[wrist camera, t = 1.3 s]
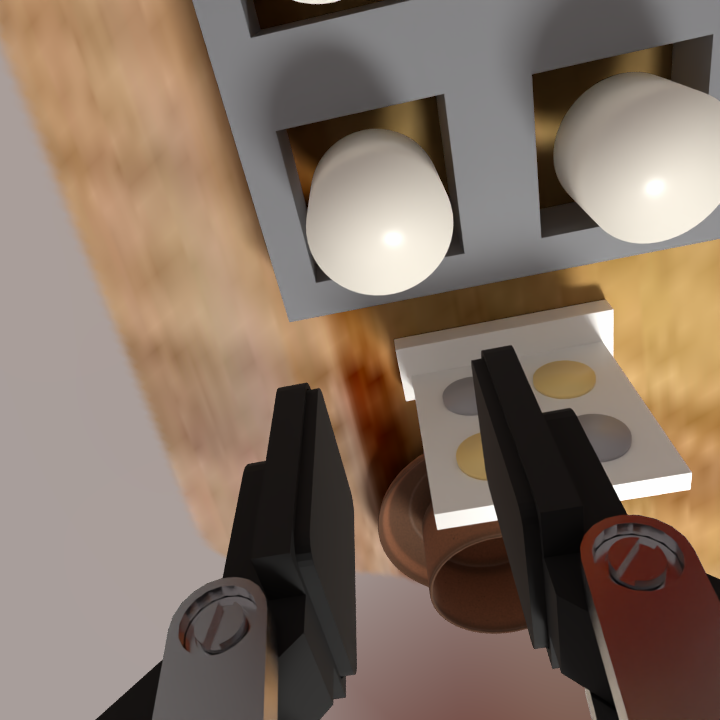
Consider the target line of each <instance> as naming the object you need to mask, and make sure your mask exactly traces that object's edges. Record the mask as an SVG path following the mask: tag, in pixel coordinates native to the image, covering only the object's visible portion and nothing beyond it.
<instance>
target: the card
mask: <svg viewBox="0 0 720 720" xmlns="http://www.w3.org/2000/svg"><path fill="white" fill-rule="evenodd" d="M613 310H614V309H613V308H612V307H611V305H610V304H609V303H608V302H607V300H606V299H605V300H600V301H594V302H589V303H584V304H579V305H573V306H568V307H563V308H557V309H552V310H547V311H541V312H536V313H531V314H526V315H520V316H515V317H510V318H504V319H499V320H494V321H488V322H483V323H478V324H473V325H467V326H462V327H457V328H451V329H446V330H441V331H435V332H430V333H425V334H420V335H414V336H409V337H404V338H398V339H394V343H395V350H396V355H397V360H398V365H399V370H400V374H401V379H402V384H403V389H404V394H405V399H406V401H411V400H416V406H417V412H418V419H419V425H420V431H421V437H422V443H423V449H424V455H425V461H426V467H427V473H428V480H429V486H430V492H431V498H432V504H433V510H434V516H435V521H436V526H437V530H441V529H447V528H453V527H459V526H466V525H472V524H478V523H484V522H490V521H497V520H498V519H497V515H496V512H495V508H494V505H493V501H492V497H491V494H490V490H489V486H488V482H487V477H486V471H485V464H484V456H483V449H482V441H481V434H480V427H479V419H478V412H477V404H476V397H475V390H474V382H473V375H472V367H471V360H476V359H481V350H486V349H492V348H497V347H503V346H508V345H512V346H513V348H514V350H515V352H516V355H517V357H518V359H519V361H520V364H521V366H522V368H523V370H524V373H525V375H526V377H527V380H528V382H529V384H530V386H531V389H532V391H533V393H534V395H535V398H536V400H537V402H538V405H539V407H540V409H541V411H542V413H543V412H549V411H554V410H560V409H566V408H571V409H572V410H573V411H574V412H575V414H576V415H577V417H578V419H579V421H580V423H581V425H582V427H583V429H584V431H585V433H586V435H587V437H588V439H589V441H590V443H591V445H592V447H593V449H594V450H595V452H596V454H597V456H598V458H599V460H600V462H601V464H602V466H603V468H604V470H605V472H606V474H607V476H608V478H609V480H610V482H611V484H612V486H613V488H614V489H615V491H616V493H617V495H618V497H619V499H620V501H621V500H627V499H634V498H640V497H646V496H652V495H659V494H665V493H671V492H677V491H683V490H690V488H691V478H692V472H691V470H690V469H689V468H688V466H687V465H686V463H685V462H684V460H683V459H682V457H681V456H680V454H679V453H678V451H677V450H676V448H675V447H674V446H673V444H672V443H671V441H670V440H669V438H668V437H667V435H666V434H665V432H664V431H663V429H662V428H661V426H660V425H659V424H658V422H657V421H656V419H655V418H654V416H653V415H652V413H651V412H650V410H649V409H648V407H647V406H646V404H645V403H644V402H643V400H642V399H641V397H640V396H639V394H638V393H637V391H636V390H635V388H634V387H633V385H632V384H631V382H630V381H629V380H628V378H627V377H626V375H625V374H624V372H623V371H622V369H621V368H620V366H619V365H618V363H617V362H616V360H615V359H614V358H613Z"/></svg>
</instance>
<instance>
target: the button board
mask: <svg viewBox="0 0 720 720" xmlns="http://www.w3.org/2000/svg"><path fill="white" fill-rule="evenodd" d="M192 1H193V4H194V8H195V11H196V14H197V18H198V21H199V24H200V28H201V31H202V34H203V38H204V41H205V44H206V47H207V51H208V54H209V57H210V61H211V64H212V67H213V71H214V74H215V77H216V81H217V84H218V87H219V91H220V94H221V97H222V100H223V104H224V107H225V110H226V114H227V117H228V120H229V124H230V127H231V130H232V134H233V137H234V140H235V143H236V147H237V150H238V153H239V157H240V160H241V163H242V167H243V170H244V173H245V177H246V180H247V183H248V187H249V190H250V193H251V196H252V200H253V203H254V206H255V210H256V213H257V216H258V220H259V223H260V226H261V230H262V233H263V236H264V239H265V243H266V246H267V249H268V253H269V256H270V259H271V263H272V266H273V269H274V273H275V276H276V279H277V282H278V286H279V289H280V292H281V296H282V299H283V302H284V306H285V309H286V312H287V316H288V319H289V322H293V321H298V320H303V319H308V318H314V317H319V316H324V315H329V314H334V313H339V312H345V311H350V310H355V309H360V308H365V307H370V306H376V305H381V304H386V303H391V302H396V301H401V300H406V299H412V298H417V297H422V296H427V295H432V294H437V293H443V292H448V291H453V290H458V289H463V288H468V287H473V286H479V285H484V284H489V283H494V282H499V281H504V280H510V279H515V278H520V277H525V276H530V275H535V274H541V273H546V272H551V271H556V270H561V269H566V268H571V267H577V266H582V265H587V264H592V263H597V262H602V261H608V260H613V259H618V258H623V257H628V256H633V255H639V254H644V253H649V252H654V251H659V250H664V249H669V248H675V247H680V246H685V245H690V244H695V243H700V242H706V241H711V240H716V239H720V204H719V205H718V206H717V207H716V208H715V210H714V211H713V212H712V213H711V214H710V215H709V216H708V217H706V218H705V219H704V220H703V221H702V222H700V223H699V224H698V225H696V226H695V227H693V228H692V229H690V230H689V231H687V232H685V233H683V234H681V235H679V236H677V237H674V238H671V239H669V240H665V241H661V242H656V243H645V244H639V243H630V242H626V241H622V240H620V239H617V238H615V237H613V236H611V235H610V234H608V233H607V232H605V231H604V230H603V229H602V228H601V227H600V226H599V225H598V224H597V223H596V222H595V221H594V220H593V219H592V218H591V217H590V216H589V215H588V214H587V213H586V212H585V211H584V210H583V209H582V208H581V207H580V206H579V205H578V204H577V203H576V202H572V203H567V204H562V205H558V206H553V207H548V208H543V209H540V207H539V190H538V173H537V155H536V138H535V121H534V103H533V86H532V74H535V73H540V72H544V71H549V70H553V69H558V68H562V67H567V66H571V65H576V64H580V63H585V62H589V61H594V60H598V59H603V58H607V57H612V56H616V55H621V54H625V53H630V52H634V51H639V50H643V49H648V48H652V47H657V46H662V45H666V44H671V43H673V51H672V72H671V81H673V82H676V83H679V84H681V85H684V86H687V87H690V88H692V89H695V90H698V91H701V92H703V93H706V94H708V95H710V96H712V97H714V98H716V99H717V100H719V101H720V0H385V1H380V2H376V3H372V4H368V5H363V6H359V7H355V8H351V9H347V10H342V11H338V12H334V13H330V14H325V15H321V16H317V17H313V18H309V19H304V20H300V21H296V22H292V23H287V24H283V25H279V26H275V27H271V28H266V29H262V30H261V29H260V25H259V21H258V17H257V13H256V10H255V6H254V2H253V0H192ZM432 96H436V100H437V107H438V115H439V122H440V130H441V137H442V145H443V152H444V160H445V167H446V175H447V182H448V190H449V197H450V204H451V208H452V213H453V233H452V238H451V242H450V245H449V248H448V251H447V253H446V255H445V257H444V258H443V260H442V261H441V263H440V264H439V266H438V267H437V268H436V269H435V270H434V272H433V273H432V274H431V275H429V276H428V277H427V278H426V279H425V280H423V281H422V282H420V283H419V284H417V285H415V286H414V287H412V288H410V289H407V290H405V291H402V292H398V293H395V294H389V295H366V294H361V293H357V292H354V291H351V290H349V289H346V288H344V287H342V286H341V285H339V284H337V283H336V282H334V281H333V280H332V279H331V278H330V277H328V276H327V275H326V274H325V273H324V272H323V270H322V269H321V268H320V267H319V265H318V264H317V262H316V261H315V259H314V257H313V255H312V253H311V251H310V248H309V245H308V240H307V235H306V219H307V207H306V204H305V200H304V196H303V192H302V188H301V184H300V180H299V176H298V172H297V169H296V165H295V161H294V157H293V153H292V149H291V145H290V141H289V138H288V134H287V130H286V129H287V128H292V127H296V126H301V125H305V124H310V123H314V122H319V121H323V120H328V119H332V118H337V117H341V116H346V115H350V114H355V113H359V112H364V111H368V110H373V109H377V108H382V107H386V106H391V105H396V104H400V103H405V102H409V101H414V100H418V99H423V98H427V97H432Z"/></svg>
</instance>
